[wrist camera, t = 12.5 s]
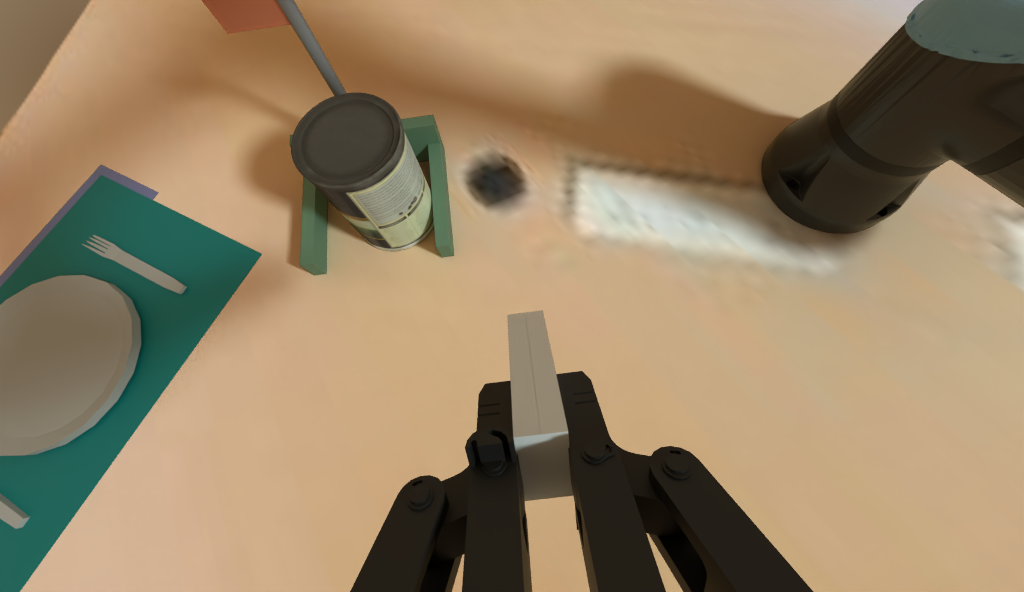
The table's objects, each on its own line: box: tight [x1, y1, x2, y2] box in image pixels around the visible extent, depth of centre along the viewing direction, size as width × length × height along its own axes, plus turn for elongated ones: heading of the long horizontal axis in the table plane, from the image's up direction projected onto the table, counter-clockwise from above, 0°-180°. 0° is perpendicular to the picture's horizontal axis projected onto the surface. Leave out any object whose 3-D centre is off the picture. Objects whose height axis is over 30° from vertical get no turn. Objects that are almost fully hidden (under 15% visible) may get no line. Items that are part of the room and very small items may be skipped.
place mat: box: [0, 165, 262, 592], centre depth 45 cm, size 45×30×2 cm
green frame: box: [202, 0, 454, 275], centre depth 37 cm, size 16×17×24 cm
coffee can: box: [291, 93, 434, 251], centre depth 42 cm, size 10×10×14 cm
